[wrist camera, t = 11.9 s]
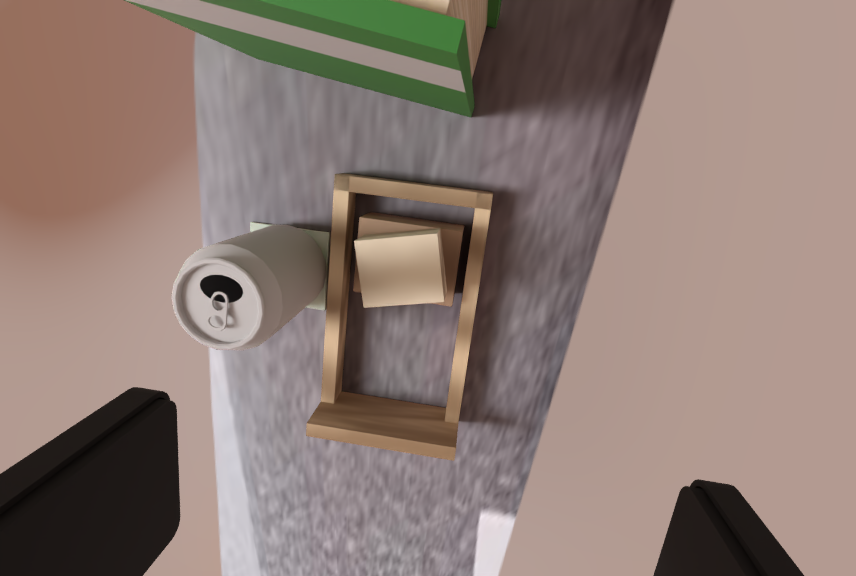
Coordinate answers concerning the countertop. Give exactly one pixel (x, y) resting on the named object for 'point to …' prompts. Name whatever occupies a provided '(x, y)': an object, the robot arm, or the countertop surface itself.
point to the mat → (323, 243)
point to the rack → (343, 410)
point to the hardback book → (354, 40)
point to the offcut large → (392, 223)
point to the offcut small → (401, 268)
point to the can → (248, 286)
